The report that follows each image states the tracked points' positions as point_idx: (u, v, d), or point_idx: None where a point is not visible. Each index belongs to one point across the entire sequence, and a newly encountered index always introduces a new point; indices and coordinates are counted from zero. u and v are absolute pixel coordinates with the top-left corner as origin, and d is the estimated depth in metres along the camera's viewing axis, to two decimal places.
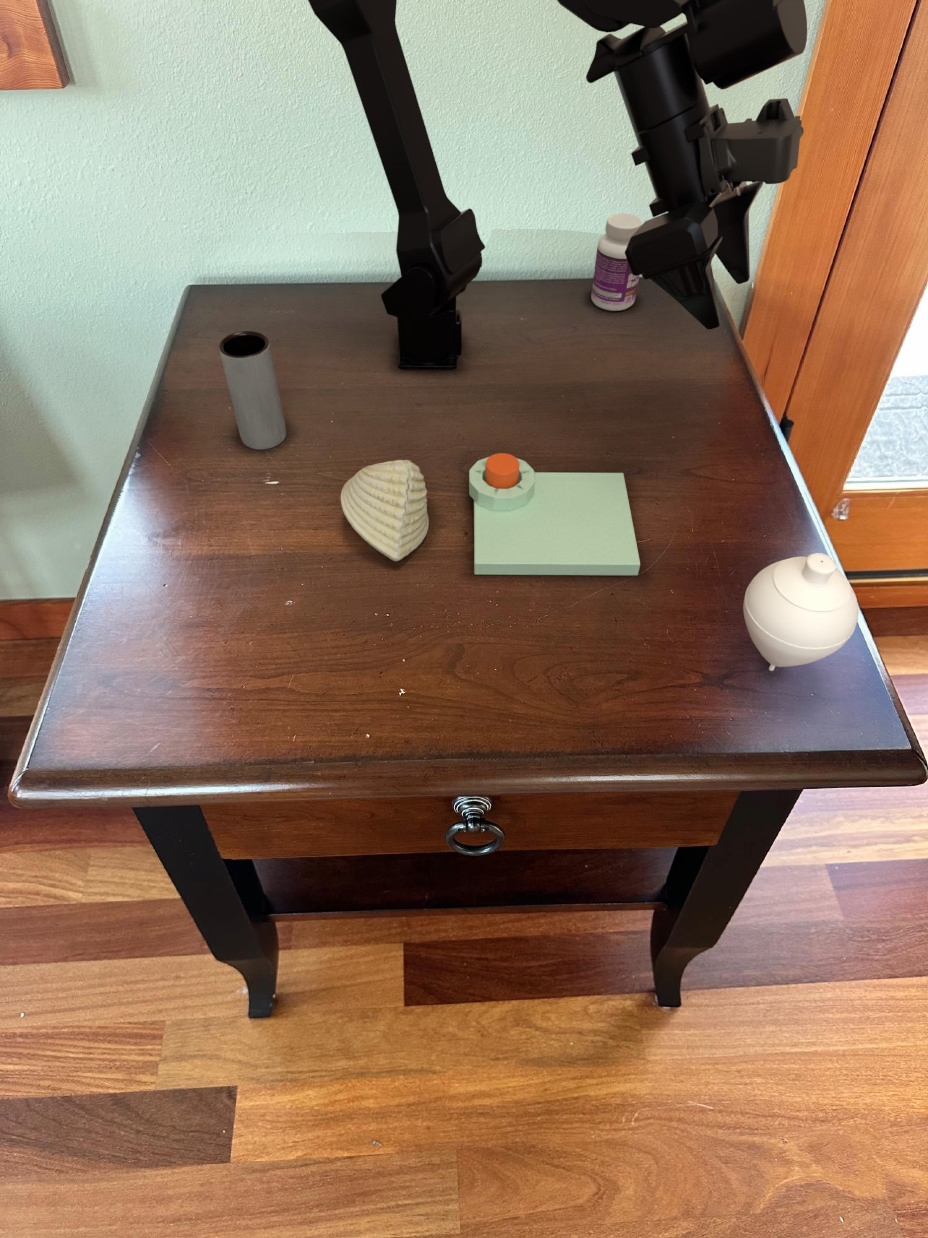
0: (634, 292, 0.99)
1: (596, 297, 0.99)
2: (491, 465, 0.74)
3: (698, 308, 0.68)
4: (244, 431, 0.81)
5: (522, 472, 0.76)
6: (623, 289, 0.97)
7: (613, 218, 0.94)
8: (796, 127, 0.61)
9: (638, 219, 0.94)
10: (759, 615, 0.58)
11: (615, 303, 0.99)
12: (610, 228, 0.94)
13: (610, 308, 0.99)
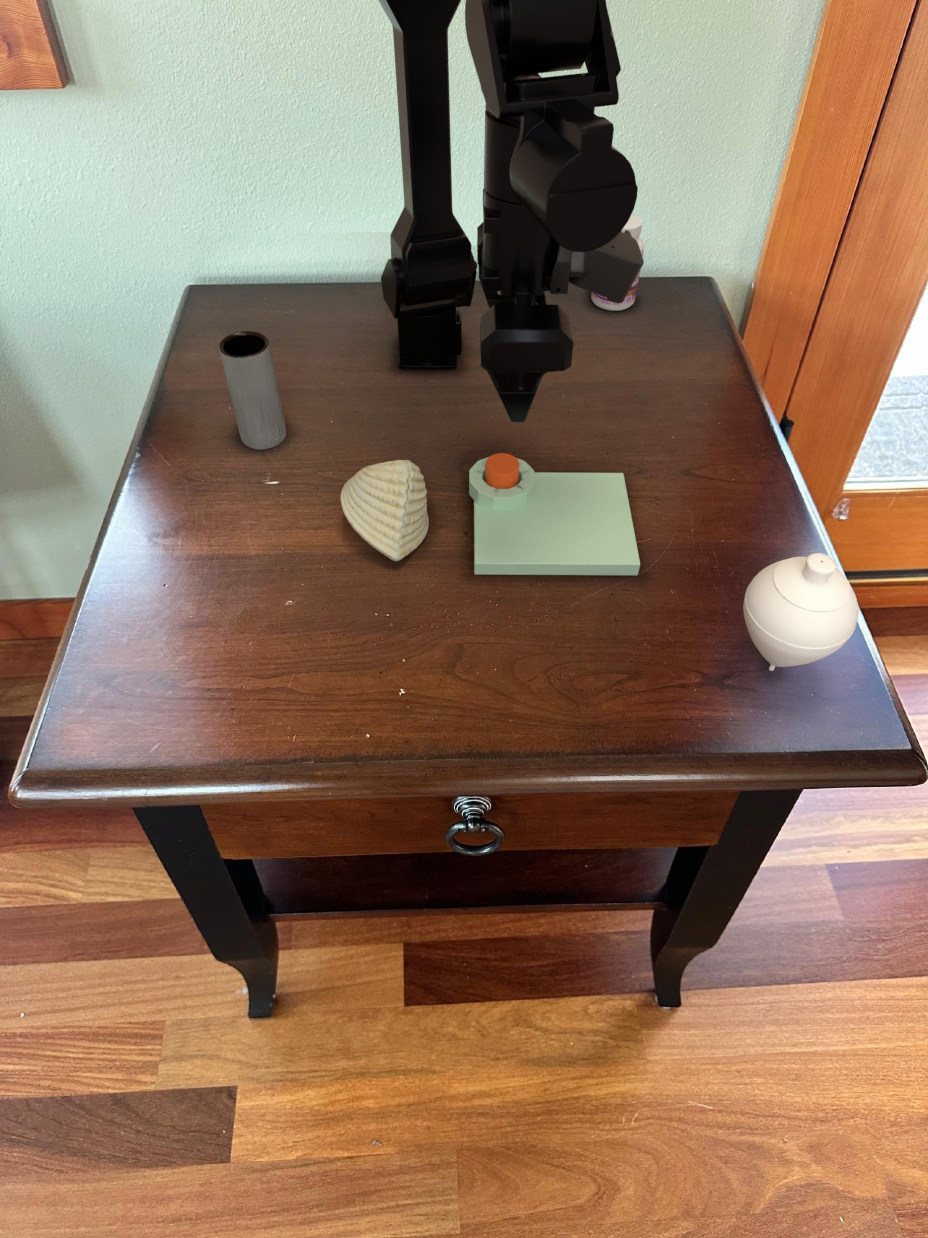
0: (634, 292, 0.99)
1: (596, 297, 0.99)
2: (491, 465, 0.74)
3: (514, 403, 0.63)
4: (244, 431, 0.81)
5: (522, 472, 0.76)
6: None
7: None
8: (639, 251, 0.60)
9: (638, 219, 0.94)
10: (759, 615, 0.58)
11: (615, 303, 0.99)
12: None
13: (610, 308, 0.99)
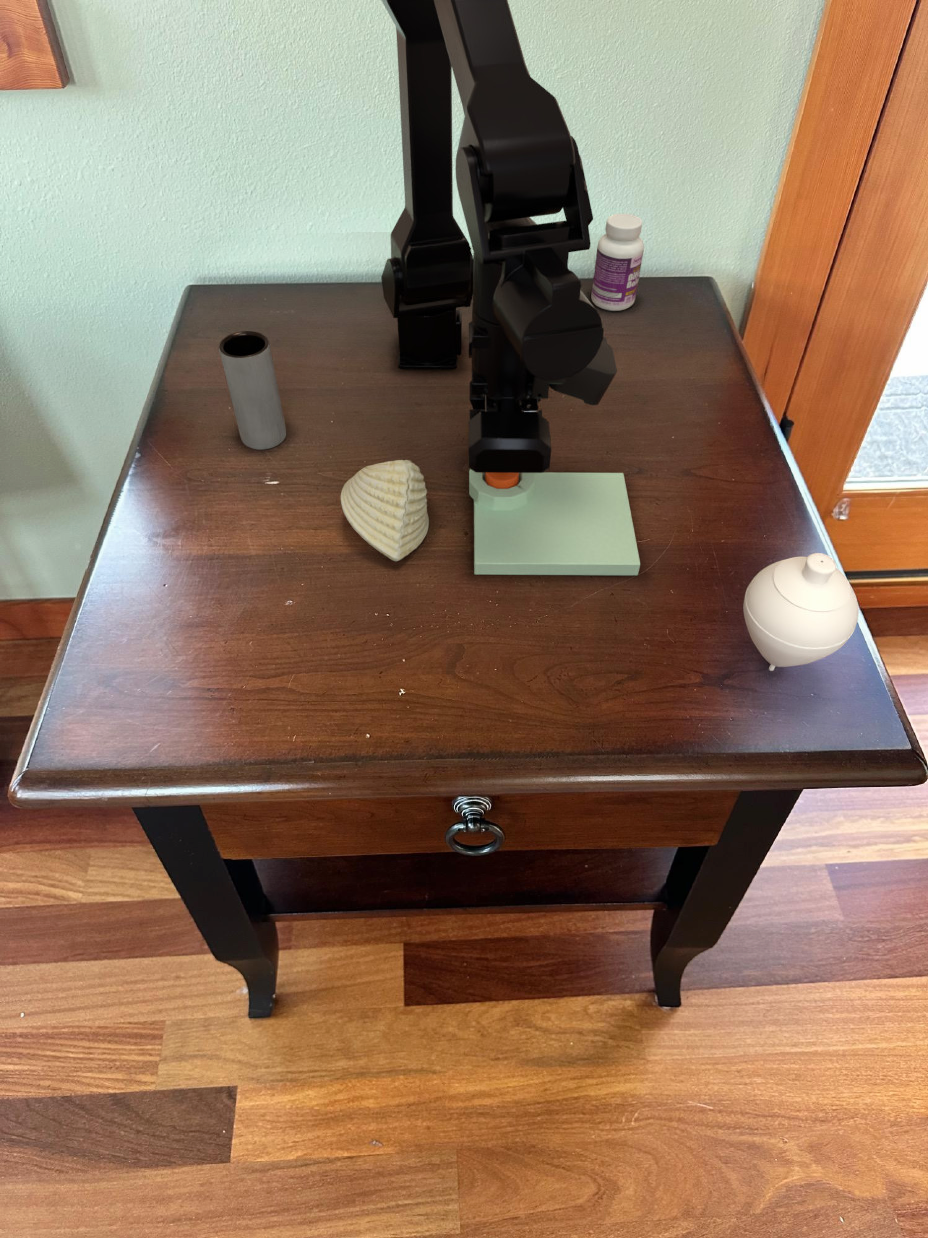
0: (634, 292, 0.99)
1: (596, 297, 0.99)
2: None
3: None
4: (244, 431, 0.81)
5: None
6: (623, 289, 0.97)
7: (613, 218, 0.94)
8: (614, 359, 0.66)
9: (638, 219, 0.94)
10: (759, 615, 0.58)
11: (615, 303, 0.99)
12: (610, 228, 0.94)
13: (610, 308, 0.99)
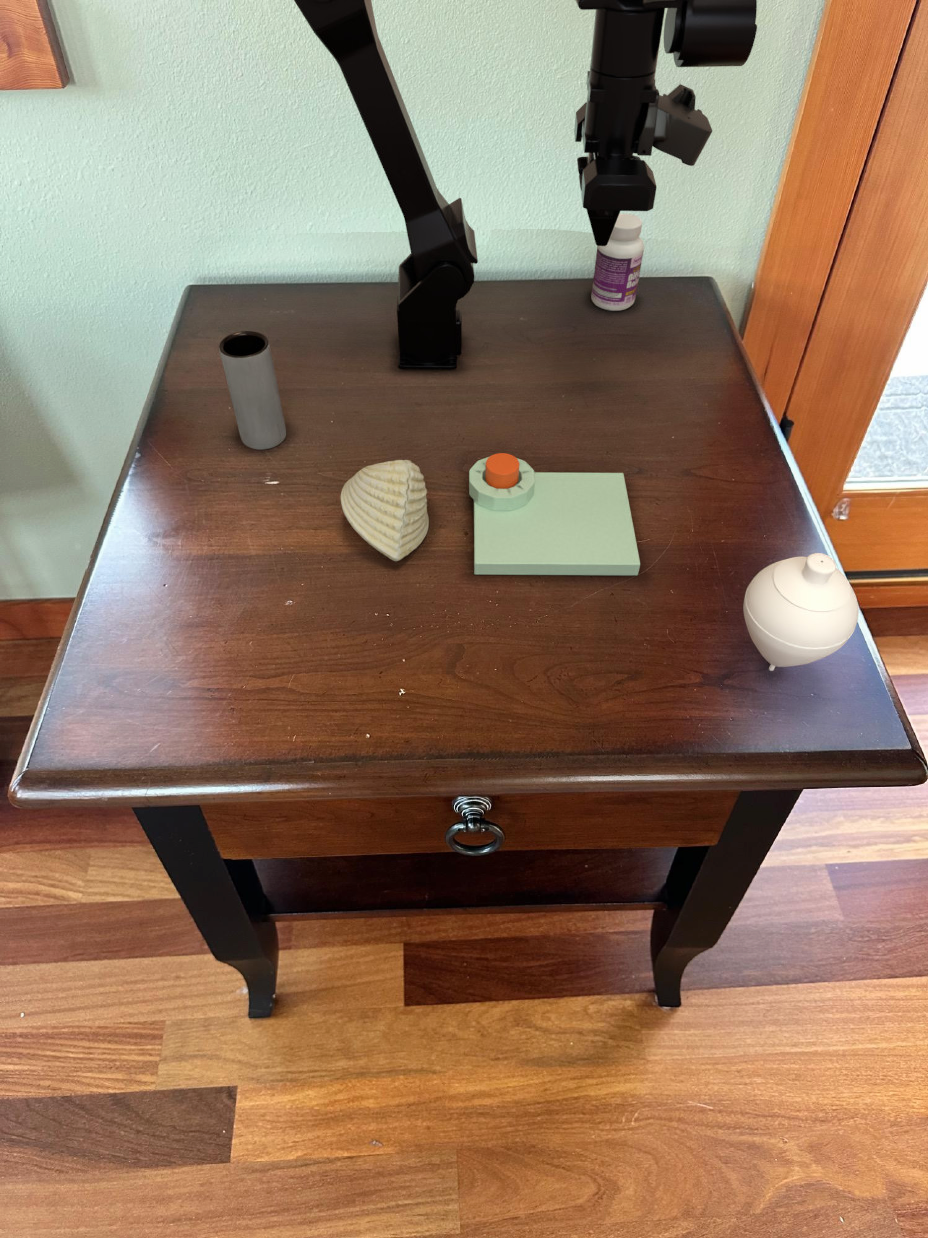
0: (634, 292, 0.99)
1: (596, 297, 0.99)
2: (491, 465, 0.74)
3: (600, 226, 0.82)
4: (244, 431, 0.81)
5: (522, 472, 0.76)
6: (623, 289, 0.97)
7: None
8: (709, 123, 0.76)
9: (638, 219, 0.94)
10: (759, 615, 0.58)
11: (615, 303, 0.99)
12: None
13: (610, 308, 0.99)
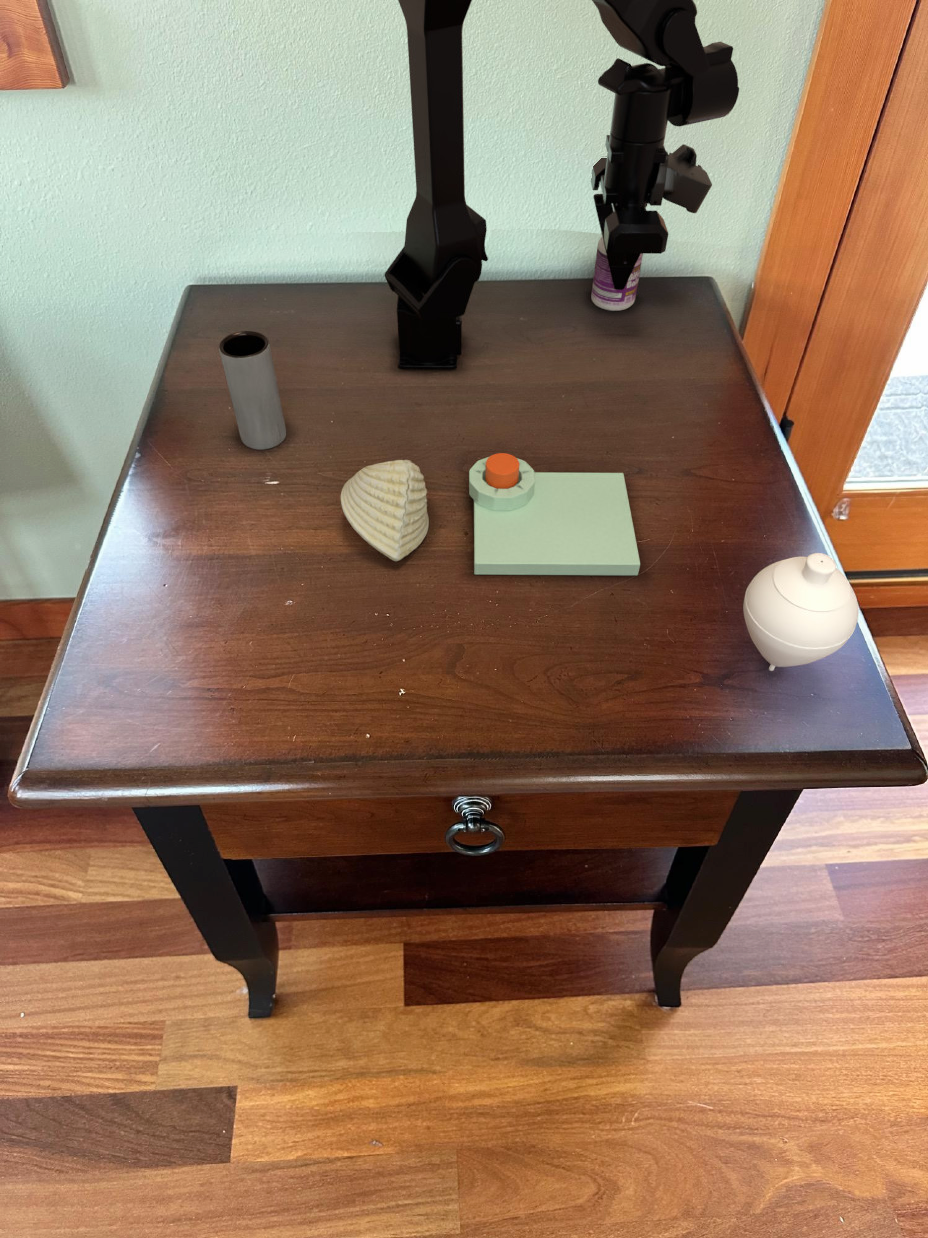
0: (634, 292, 0.99)
1: (596, 297, 0.99)
2: (491, 465, 0.74)
3: (619, 274, 0.95)
4: (244, 431, 0.81)
5: (522, 472, 0.76)
6: (623, 289, 0.97)
7: None
8: (708, 178, 0.90)
9: None
10: (759, 615, 0.58)
11: (615, 303, 0.99)
12: None
13: (610, 308, 0.99)
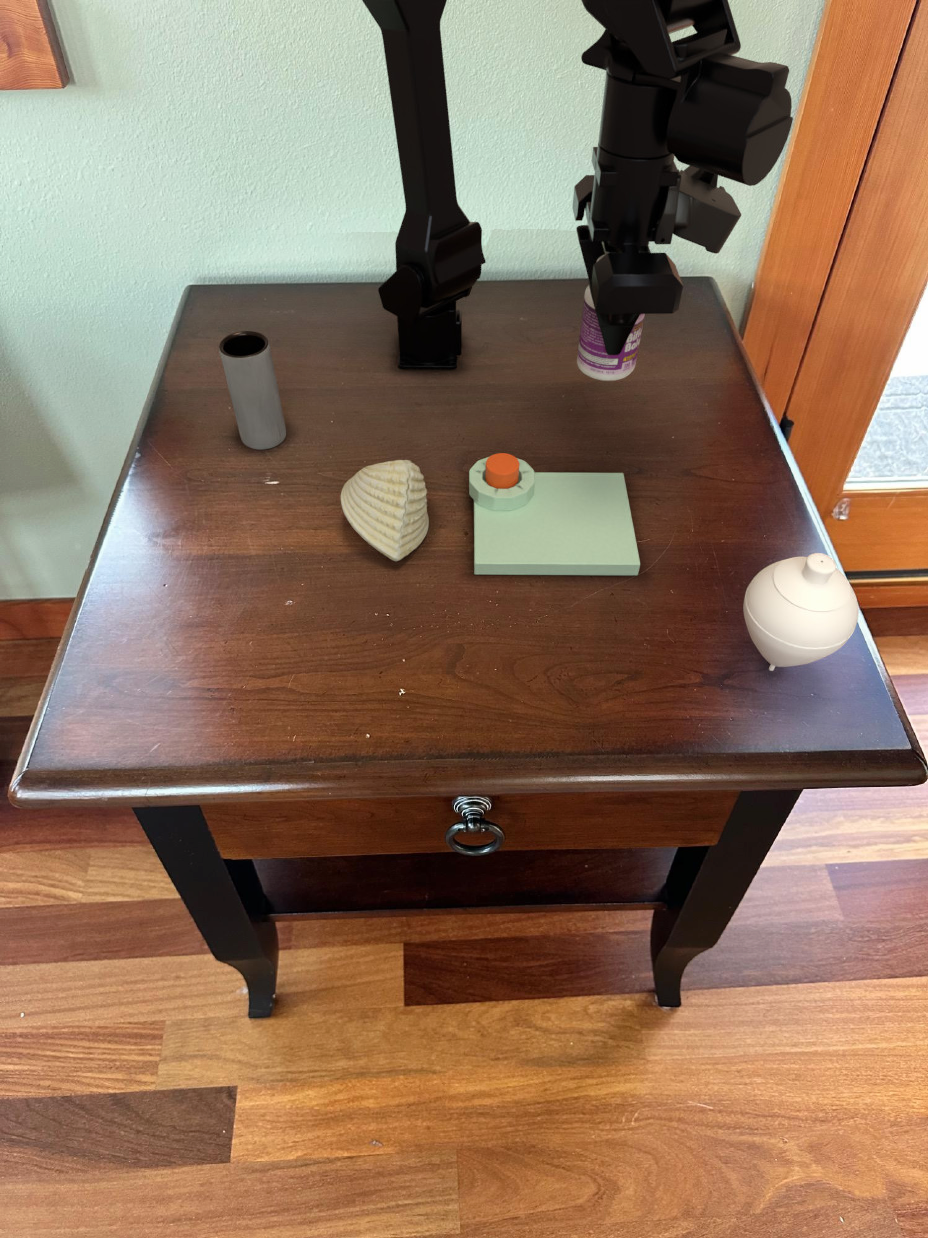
0: (635, 356, 0.73)
1: (584, 363, 0.74)
2: (491, 465, 0.74)
3: (613, 335, 0.69)
4: (244, 431, 0.81)
5: (522, 472, 0.76)
6: (620, 353, 0.72)
7: None
8: (735, 205, 0.65)
9: None
10: (759, 615, 0.58)
11: (609, 371, 0.73)
12: None
13: (603, 378, 0.74)
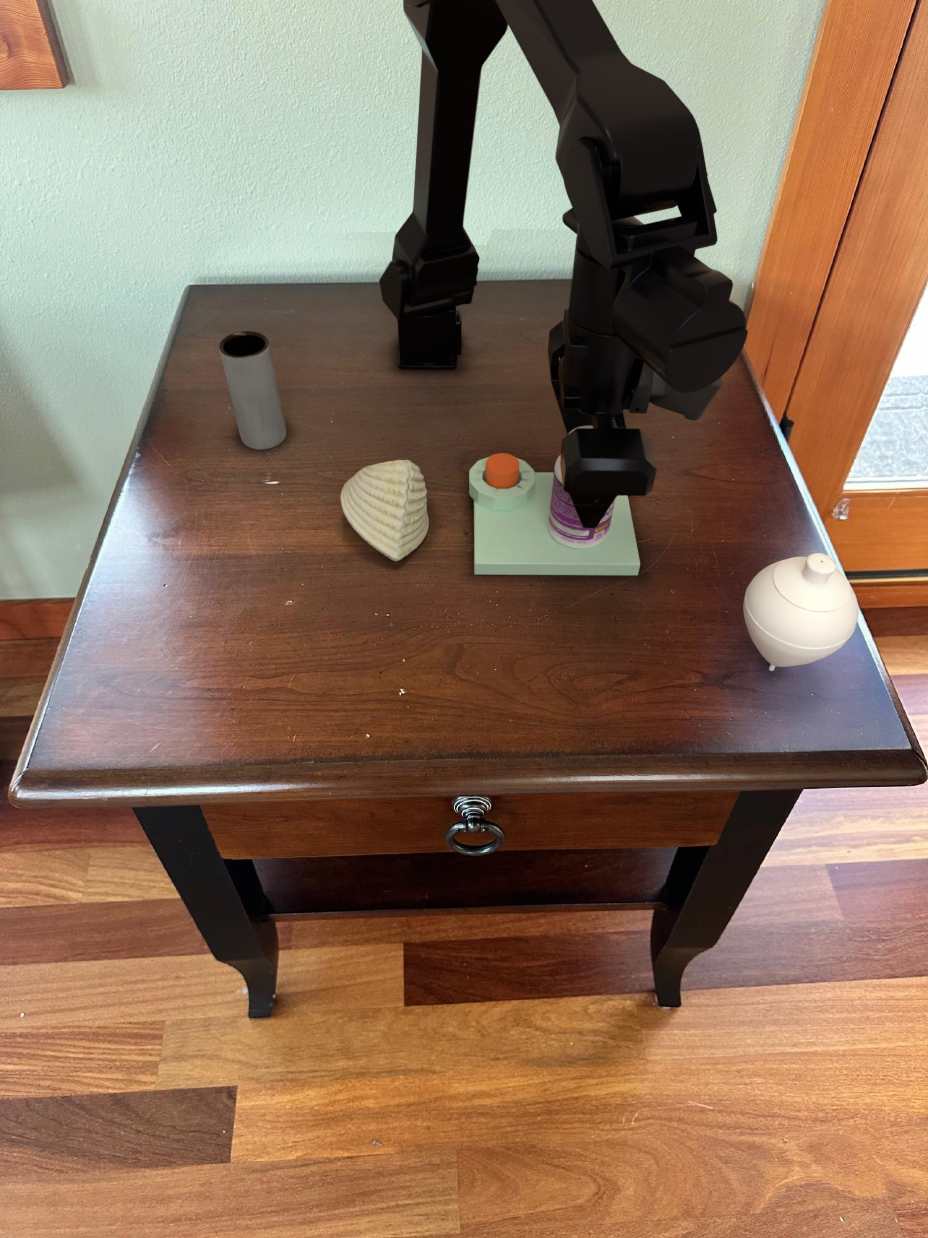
0: (607, 525, 0.71)
1: (554, 531, 0.71)
2: (491, 465, 0.74)
3: (588, 513, 0.64)
4: (244, 431, 0.81)
5: (522, 472, 0.76)
6: None
7: None
8: None
9: None
10: (759, 615, 0.58)
11: (580, 541, 0.70)
12: None
13: (574, 547, 0.71)
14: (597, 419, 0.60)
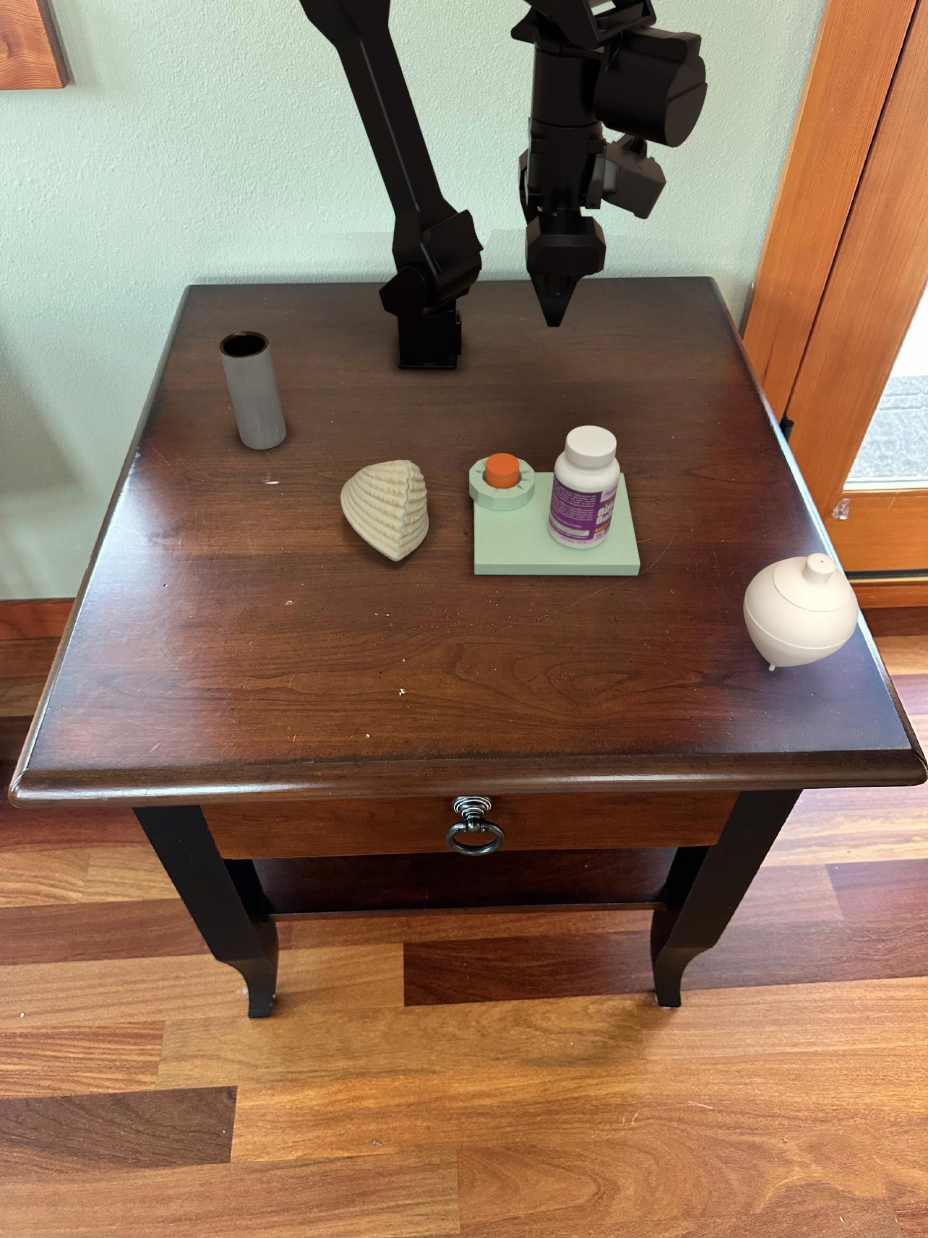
0: (607, 525, 0.71)
1: (554, 531, 0.71)
2: (491, 465, 0.74)
3: (551, 308, 0.73)
4: (244, 431, 0.81)
5: (522, 472, 0.76)
6: (591, 526, 0.69)
7: (575, 436, 0.66)
8: (663, 173, 0.69)
9: (611, 438, 0.66)
10: (759, 615, 0.58)
11: (580, 541, 0.70)
12: (570, 452, 0.65)
13: (574, 547, 0.71)
14: (557, 213, 0.68)
